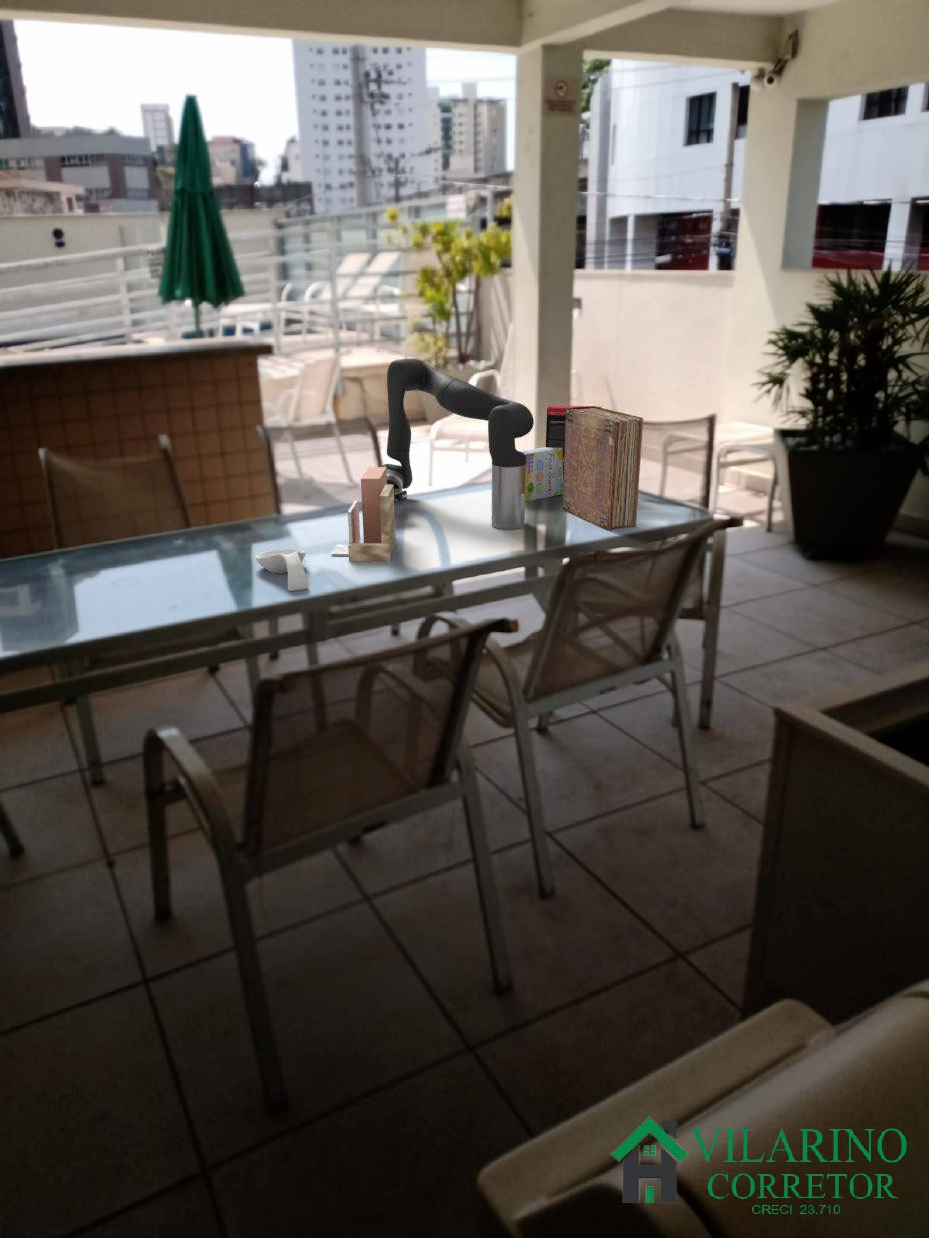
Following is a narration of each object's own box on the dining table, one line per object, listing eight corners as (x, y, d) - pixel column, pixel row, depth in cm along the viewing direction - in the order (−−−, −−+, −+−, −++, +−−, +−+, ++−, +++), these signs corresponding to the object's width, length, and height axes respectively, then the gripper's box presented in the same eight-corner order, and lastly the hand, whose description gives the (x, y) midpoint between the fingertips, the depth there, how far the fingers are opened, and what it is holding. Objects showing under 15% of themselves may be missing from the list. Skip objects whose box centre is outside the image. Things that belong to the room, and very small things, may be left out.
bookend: (360, 544, 234) (358, 499, 230) (353, 558, 223) (350, 511, 218) (338, 544, 234) (335, 499, 230) (330, 558, 223) (327, 511, 219)
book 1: (388, 532, 245) (386, 467, 238) (382, 547, 232) (379, 478, 225) (371, 532, 245) (368, 467, 239) (364, 547, 232) (360, 478, 226)
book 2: (636, 527, 248) (643, 418, 237) (608, 531, 245) (614, 420, 234) (588, 506, 270) (593, 405, 259) (562, 510, 267) (565, 407, 256)
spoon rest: (252, 565, 219) (249, 537, 216) (299, 559, 223) (297, 531, 221) (274, 595, 199) (271, 564, 196) (325, 587, 203) (323, 557, 201)
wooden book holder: (395, 545, 234) (393, 484, 228) (389, 561, 221) (386, 497, 215) (357, 544, 234) (354, 484, 228) (348, 561, 221) (345, 497, 215)
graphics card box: (597, 490, 289) (602, 404, 279) (597, 495, 282) (602, 408, 272) (544, 489, 291) (546, 403, 281) (543, 494, 285) (545, 407, 275)
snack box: (554, 491, 289) (556, 444, 284) (566, 494, 285) (568, 447, 279) (504, 501, 277) (504, 452, 272) (516, 504, 273) (516, 455, 267)
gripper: (366, 475, 262) (357, 489, 246) (411, 475, 262) (404, 489, 246) (367, 500, 265) (358, 515, 249) (411, 500, 264) (405, 516, 248)
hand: (381, 502), depth 247 cm, fingers closed
